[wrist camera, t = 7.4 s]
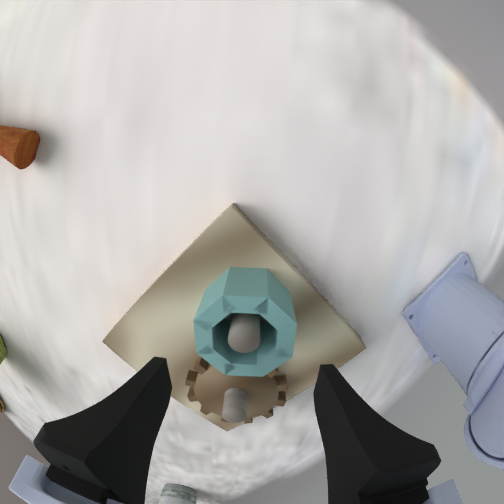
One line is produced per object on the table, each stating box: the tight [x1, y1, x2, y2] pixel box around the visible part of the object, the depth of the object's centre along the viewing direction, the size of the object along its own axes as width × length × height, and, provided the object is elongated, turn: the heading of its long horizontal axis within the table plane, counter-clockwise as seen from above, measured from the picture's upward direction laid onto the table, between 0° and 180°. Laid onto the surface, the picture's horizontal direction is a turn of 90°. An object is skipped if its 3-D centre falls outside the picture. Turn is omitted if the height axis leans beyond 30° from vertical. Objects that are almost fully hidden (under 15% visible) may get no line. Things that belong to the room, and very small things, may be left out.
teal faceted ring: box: [193, 267, 297, 377], centre depth 17 cm, size 6×6×4 cm
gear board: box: [102, 203, 366, 431], centre depth 19 cm, size 15×16×6 cm
